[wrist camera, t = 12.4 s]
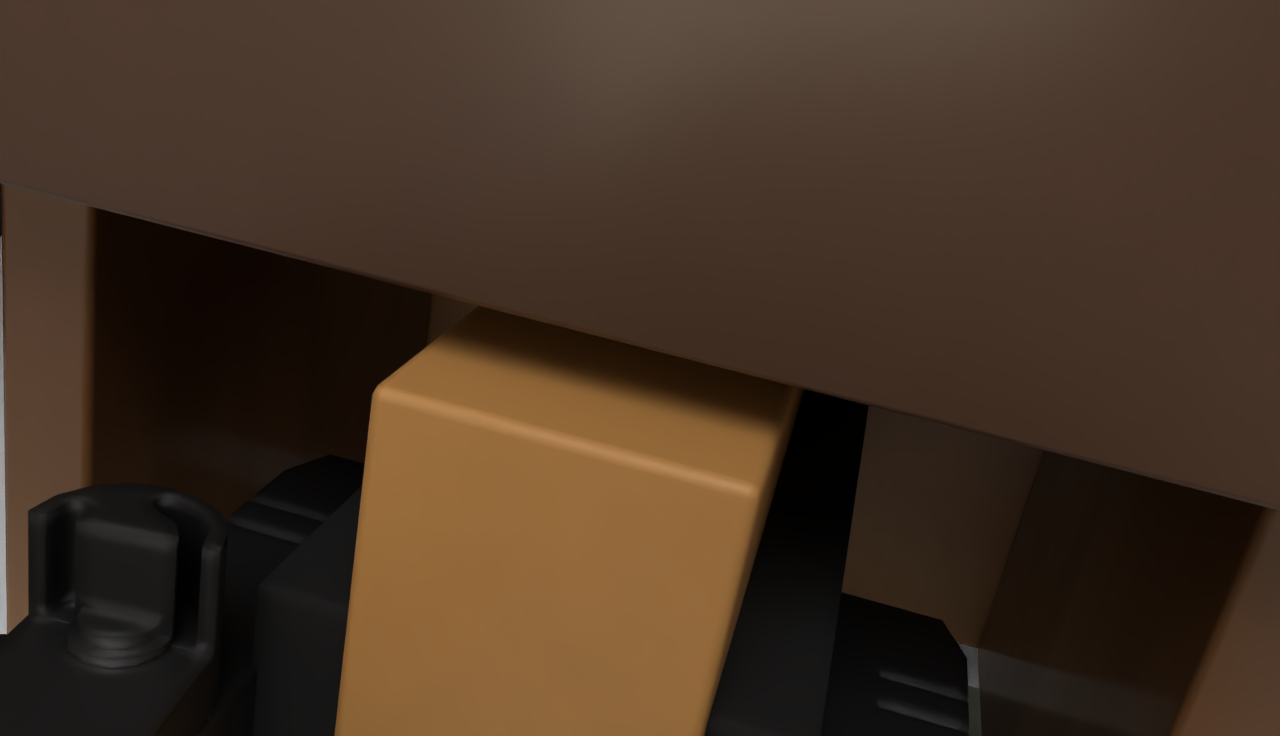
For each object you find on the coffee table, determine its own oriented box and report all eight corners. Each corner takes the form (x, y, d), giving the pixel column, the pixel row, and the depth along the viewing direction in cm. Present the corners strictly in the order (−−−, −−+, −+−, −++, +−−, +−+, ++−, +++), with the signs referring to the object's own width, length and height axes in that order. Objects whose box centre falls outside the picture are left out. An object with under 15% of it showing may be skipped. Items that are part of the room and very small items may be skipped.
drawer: (999, 832, 19) (1040, 1485, 11) (332, 630, 21) (-52, 1070, 13) (1308, -1, 14) (1767, 80, 6) (416, -176, 16) (-108, -285, 8)
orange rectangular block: (845, 227, 13) (762, 490, 7) (723, 714, 16) (576, 1252, 9) (634, 178, 14) (369, 384, 7) (546, 662, 16) (284, 1144, 10)
